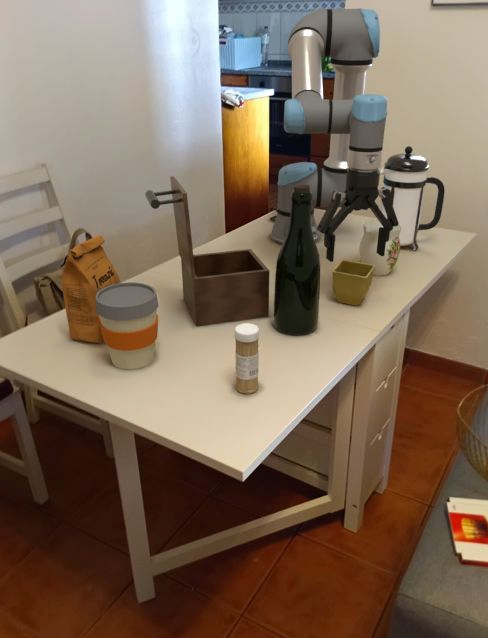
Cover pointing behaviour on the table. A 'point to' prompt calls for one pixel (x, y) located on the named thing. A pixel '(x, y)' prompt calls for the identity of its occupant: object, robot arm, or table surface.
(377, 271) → the pitcher
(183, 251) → the lid
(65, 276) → the coffee package
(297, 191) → the dark green wine bottle
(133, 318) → the reusable coffee cup
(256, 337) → the sprinkles bottle
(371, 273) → the flower pot
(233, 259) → the chest
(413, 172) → the coffee press
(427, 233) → the table surface
